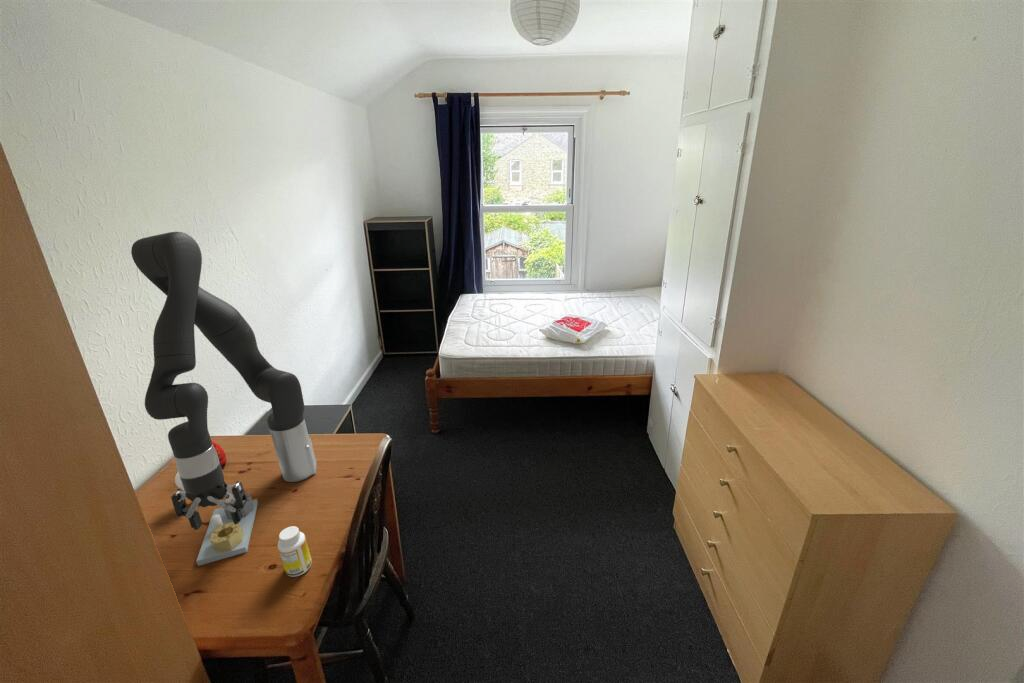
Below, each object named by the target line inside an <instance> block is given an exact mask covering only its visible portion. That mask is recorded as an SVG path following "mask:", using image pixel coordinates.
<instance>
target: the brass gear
mask: <svg viewBox="0 0 1024 683" xmlns="http://www.w3.org/2000/svg"><path fill="white" fill-rule="evenodd" d="M243 536H244V533H243V530H242V527H241V525H240V524H234V522H232V523H228V524H225V525H222V526H220V527H219V528H218V529H216V530H215V531H213V532H212V535H211V538H210V542H211V544H212V547H213V550H215V551H218V552H220V553H221V552H225V551H228V550H232V549H234V548H235V547H236V546H237V545H239V544H240V543H241V542H242V540H243Z"/></svg>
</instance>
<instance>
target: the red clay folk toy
mask: <svg viewBox="0 0 1024 683" xmlns="http://www.w3.org/2000/svg"><path fill="white" fill-rule="evenodd" d="M207 426H208V423H207ZM212 444H213V446H214V448H215V450H216V453H217V456H218V459H219V462H220V465H221V469H222V470H223V468H224V467H225V466H226V464H227V462H228V461H227V456H226V453H225V451H224V449H223V448H222V447H221V445H220V444H218V443H217V442H215V441H212Z"/></svg>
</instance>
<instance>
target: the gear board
mask: <svg viewBox="0 0 1024 683" xmlns="http://www.w3.org/2000/svg"><path fill="white" fill-rule="evenodd" d="M245 494H246V496H247V499H248V501H247V502H246V504H245V506H244V508H242V509H241V511H242V514H243V517H242V519H241V521H240V522H239V523H238V524H240V525H241V527H242V530H243V533H244V536H243V540H242V542H241V543H240V544H239V545H237V546H236V547H235V548H234V549H232V550H228V551H225V552H221V553H220V552H218V551H215V550H213V547H212V544H211V542H210V538H211V535H212V532H213V531H215V530H216V529H218V528H219V527H220V526H222V525H225V524H228V523H232V522H233V519H232V516H231V511H230V510H228V509H227V508H222V507H220V508H219V507H218V508H216V509H214V510H213V513H212V515H211V517H210V521H209V524H208V527H207V529H206V533H205V535H204V538H203V541H202V543H201V547H200V549H199V553H198V555H197V558H196V561H195V562H196V564H197V566H204V565H206V564H209V563H213V562H217V561H221V560H224V559H227V558H231V557H233V556H239V555H241V554H245V553H248V549H249V545H250V541H251V535H252V530H253V527H254V522H255V519H256V518H255V517H256V515H257V514H256V513H257V508H258V505H259V502H258V499H257V498H254V499H252V496H251V494H248V493H245ZM233 498H234V496H233ZM230 504H231V503H230ZM232 505H233V504H232Z"/></svg>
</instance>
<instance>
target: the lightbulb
mask: <svg viewBox="0 0 1024 683" xmlns="http://www.w3.org/2000/svg"><path fill="white" fill-rule="evenodd" d="M174 483H175V485H176V487H177V488H178V489H182V490H183V491H185V490H184V487H183V484H182V481H181V479H180V476H179V473H178V472H177V473H176V475H175V477H174Z"/></svg>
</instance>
